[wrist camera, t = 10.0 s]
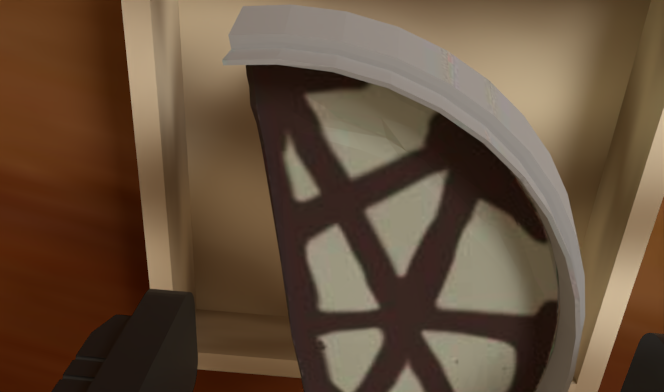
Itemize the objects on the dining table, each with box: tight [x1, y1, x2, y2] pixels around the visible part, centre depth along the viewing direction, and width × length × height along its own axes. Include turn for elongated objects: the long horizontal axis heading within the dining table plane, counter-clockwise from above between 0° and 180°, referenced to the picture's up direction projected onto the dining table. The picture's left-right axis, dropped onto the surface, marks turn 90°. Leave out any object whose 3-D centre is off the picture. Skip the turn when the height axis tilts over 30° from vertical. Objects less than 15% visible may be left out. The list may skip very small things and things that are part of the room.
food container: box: [222, 5, 585, 392], centre depth 15 cm, size 12×6×10 cm, turn 7°
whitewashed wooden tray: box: [121, 0, 664, 392], centre depth 19 cm, size 16×16×4 cm
